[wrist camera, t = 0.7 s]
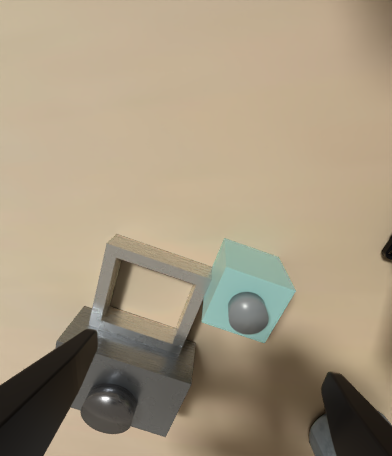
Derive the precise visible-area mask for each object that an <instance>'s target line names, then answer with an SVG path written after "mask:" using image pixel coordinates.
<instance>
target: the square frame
mask: <svg viewBox="0 0 392 456" xmlns="http://www.w3.org/2000/svg"><path fill="white" fill-rule="evenodd" d="M121 260H125V261H127V262H130V263H133V264H136V265H139V266H142V267H145V268H148V269H151V270H154V271H157V272H160V273H163V274H166V275H168V276H171V277H174V278H177V279H180V280H183V281H186V282H189V283H192V284H193V286H192V289H191V291H190V294H189V296H188V299H187V301H186V304H185V306H184V309H183V311H182V314H181V316H180V319H179V321H178V324H177V326H176V328H173V327H170V326H167V325H164V324H161V323H158V322H155V321H152V320H149V319H146V318H143V317H140V316H137V315H134V314H131V313H128V312H125V311H122V310H119V309H116V308H113V307H110V304H111V300H112V296H113V292H114V288H115V284H116V280H117V276H118V272H119V268H120V264H121ZM211 280H212V267H211V266H208V265H205V264H202V263H199V262H196V261H193V260H190V259H187V258H185V257H182V256H179V255H176V254H173V253H170V252H167V251H164V250H161V249H158V248H156V247H153V246H150V245H147V244H144V243H141V242H138V241H135V240H132V239H129V238H127V237H124V236H121V235H118V234H116V235H115V236H114V237H113V238H112V239H111V240H110V241H109V242H108V243H107V245H106V249H105V254H104V258H103V263H102V267H101V272H100V276H99V281H98V285H97V290H96V294H95V299H94V303H93V308H89V307H86V306H84V307H83V308H82V310H81V311H80V312H79V313H78V315H77V316H76V317H75V318H74V320H73V321H72V322H71V323H70V325H69V326H68V327H67V329H66V330H65V331H64V332H63V334H62V335H61V336H60V337H59V339H58V340H57V342H56V348H57V347H59V346H61V345H62V344H64V343H65V342H67V341H68V340H70V339H71V338H73V337H74V336H76V335H77V334H79V333H80V332H82V331H83V330H85V329H94V330H96V331H97V335H98V348H97V352H96V354H95V356H94V358H93V361H92V363H91V365H90V368H89V370H88V372H87V374H86V377H85V379H84V381H83V384H82V386H81V388H80V390H79V392H78V394H77V396H76V398H75V400H74V402H73V403H72V405H71V408H74V409H78V410H81V416H82V418H83V420H84V421H85V423H86V424H87V425H89V426H90V427H91V428H93V429H95V430H97V431H100V432H103V433H107V434H119V433H123V432H125V431H126V430H128V429H129V428H130V426H132V427H135V428H138V429H141V430H144V431H148V432H151V433H154V434H157V435H160V436H164V437H166V435H167V433H168V431H169V429H170V427H171V425H172V423H173V421H174V419H175V417H176V415H177V413H178V411H179V409H180V407H181V404H182V402H183V400H184V398H185V396H186V394H187V392H188V390H189V388H190V386H191V382H192V373H193V364H194V355H195V346H196V343H194V342H191V341H188V340H186V338H187V335H188V333H189V331H190V328H191V326H192V324H193V321H194V319H195V317H196V314H197V312H198V310H199V307H200V305H201V303H202V300H203V298H204V296H205V294H206V291H207V289H208V287H209V284H210V282H211Z"/></svg>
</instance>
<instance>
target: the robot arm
mask: <svg viewBox="0 0 392 456" xmlns="http://www.w3.org/2000/svg"><path fill="white" fill-rule="evenodd" d="M390 251H392V238H391V239H390V240H389V242H388V243H387V245H386V246H385V247H384V249H383V251H382V254H383V255H384V256H385V257H387V258H388V259H391V260H392V252H391V253H390V254H389V252H390ZM97 348H98V335H97V331H96V330H94V329H85V330H83V331H82V332H80V333H79V334H77V335H76V336H74V337H73V338H71V339H70V340H68V341H67V342H65V343H64V344H62V345H61V346H59V347H57V348H56V349H54V350H53V351H51V352H50V353H48V354H47V355H45V356H44V357H42V358H41V359H39V360H38V361H36V362H35V363H33V364H32V365H30V366H29V367H27V368H26V369H24V370H23V371H21V372H20V373H18V374H17V375H15V376H14V377H12V378H10V379H9V380H7V381H6V382H4V383H3V384H1V385H0V456H44V454H45V452H46V450H47V448H48V447H49V445H50V443H51V441H52V439H53V438H54V436H55V434H56V432H57V430H58V429H59V427H60V425H61V423H62V421H63V420H64V418H65V416H66V414H67V412H68V411H69V409H70V407H71V405H72V403H73V402H74V400H75V398H76V396H77V394H78V392H79V390H80V388H81V386H82V384H83V381H84V379H85V377H86V374H87V372H88V370H89V368H90V365H91V363H92V361H93V358H94V356H95V354H96V352H97ZM321 392H322V397H323V402H324V407H325V411H326V416H327V421H328V425H329V430H330V435H331V439H332V443H333V446H334V450H335V453H336V456H392V426H391V425H390V424H389V423H388V422H387V421H386V420H385V418H384V417H383V416H382V415H381V414H380V413H379V412H378V411H377V410H376V409H375V408H374V407H373V406H372V405H371V404H370V403H369V402H368V401H367V400H366V399H365V398H364V397H363V396H362V395H361V394H360V393H359V392H358V391H357V390H356V389H355V388H354V387H353V386H352V385H351V384H350V383H349V382H348V381H347V379H346V378H345V377H344V376H343V375H341V374H340V373H335V372H328V373H327V375H326V378H325V380H324V382H323V384H322V388H321Z"/></svg>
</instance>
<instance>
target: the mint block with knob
mask: <svg viewBox="0 0 392 456" xmlns="http://www.w3.org/2000/svg"><path fill="white" fill-rule="evenodd" d="M295 291H296V290H295V288H294V286H293V284H292V282H291V280H290V278H289V276H288V274H287V272H286V270H285V268H284V267H283V265H282V263H281V261H280V259H279V257H277V256H274V255H271V254H268V253H266V252H263V251H260V250H257V249H254V248H251V247H248V246H246V245H243V244H240V243H237V242H234V241H231V240H228V239H226V238H224V240H223V243H222V245H221V247H220V250H219V252H218V254H217V257H216V259H215V262H214V264H213V266H212V280H211V282H210V284H209V287H208V289H207V291H206V294H205V296H204V300H203V311H202V323H205V324H208V325H211V326H214V327H217V328H220V329H223V330H226V331H229V332H232V333H235V334H238V335H241V336H244V337H247V338H250V339H253V340H256V341H259V342H262V343H265V342H266V340H267V338H268V337H269V335H270V333H271V332H272V330H273V328H274V327H275V325H276V323H277V322H278V320H279V318H280V317H281V315H282V313H283V312H284V310H285V308H286V307H287V305H288V303H289V301H290V300H291V298H292V296H293V295H294V293H295Z"/></svg>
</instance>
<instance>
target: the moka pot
mask: <svg viewBox="0 0 392 456" xmlns="http://www.w3.org/2000/svg"><path fill="white" fill-rule="evenodd" d="M378 412H379V411H378ZM379 413H380V412H379ZM380 414H381V413H380ZM381 415H382V416H383V417H384V418H385V420H386V421H387V422H388V423H389V424H390V425H391V423H390V422H389V421H388V420H387V419H386V417H385V416H384V415H383V414H381ZM391 426H392V425H391ZM309 443H310V445H311V447H312V450H313V452H314V454H315V456H336V453H335V450H334V446H333V443H332V439H331V435H330V430H329V425H328V421H327V416H326V413H325V414H324V415H322V416H321V417H320V418H318V419H317V420H316V421H315V422H314V424H313V425H312V427H311V429H310V434H309Z"/></svg>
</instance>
